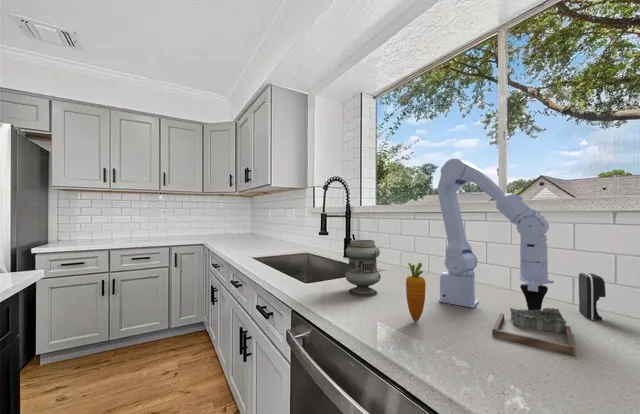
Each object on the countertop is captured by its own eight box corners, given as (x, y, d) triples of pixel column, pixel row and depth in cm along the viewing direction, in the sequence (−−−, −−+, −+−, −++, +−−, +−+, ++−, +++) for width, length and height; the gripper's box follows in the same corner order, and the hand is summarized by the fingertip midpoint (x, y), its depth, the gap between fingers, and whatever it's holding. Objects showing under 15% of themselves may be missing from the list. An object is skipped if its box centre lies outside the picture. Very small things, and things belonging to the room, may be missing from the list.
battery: (608, 323, 72) (607, 277, 72) (588, 320, 73) (587, 275, 74) (596, 314, 78) (595, 272, 78) (578, 312, 80) (577, 271, 80)
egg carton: (561, 325, 70) (561, 308, 70) (568, 336, 64) (568, 318, 64) (509, 316, 76) (509, 301, 76) (511, 326, 69) (511, 309, 69)
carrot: (402, 318, 73) (402, 260, 74) (420, 318, 74) (420, 260, 74) (410, 326, 68) (409, 263, 69) (429, 325, 69) (429, 263, 69)
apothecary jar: (340, 289, 102) (340, 239, 103) (371, 287, 105) (371, 238, 106) (352, 298, 91) (352, 242, 91) (386, 296, 93) (386, 241, 94)
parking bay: (492, 336, 63) (492, 329, 63) (500, 318, 74) (500, 313, 74) (574, 355, 55) (574, 347, 55) (570, 332, 65) (570, 326, 65)
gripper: (553, 266, 66) (554, 325, 66) (552, 259, 77) (553, 309, 77) (517, 263, 70) (517, 318, 70) (521, 256, 82) (521, 304, 81)
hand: (534, 313), depth 74 cm, fingers closed
